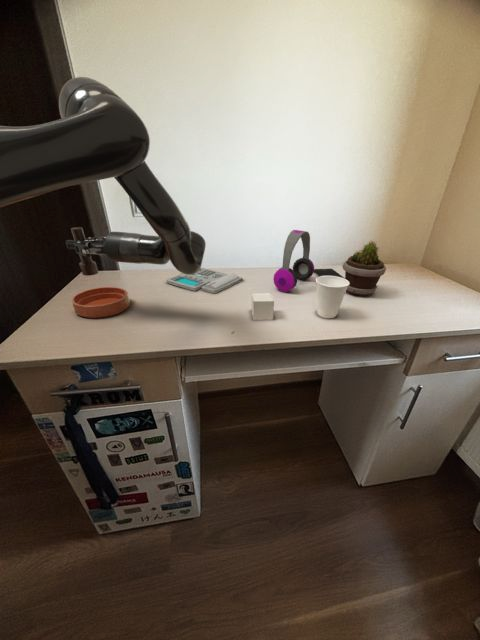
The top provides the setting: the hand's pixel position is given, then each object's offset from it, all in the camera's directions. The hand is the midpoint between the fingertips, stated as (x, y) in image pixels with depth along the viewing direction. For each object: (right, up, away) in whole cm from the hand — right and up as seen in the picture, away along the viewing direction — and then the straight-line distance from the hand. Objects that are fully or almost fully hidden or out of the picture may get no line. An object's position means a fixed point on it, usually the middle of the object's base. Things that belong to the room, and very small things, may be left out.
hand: (71, 243), depth 76 cm
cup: (+72, -18, +13) cm, 75 cm away
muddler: (+3, -7, +4) cm, 9 cm away
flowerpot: (+88, -7, +31) cm, 93 cm away
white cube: (+51, -18, +11) cm, 56 cm away
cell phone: (+80, +2, +43) cm, 91 cm away
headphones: (+64, -3, +35) cm, 73 cm away
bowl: (+2, -16, +12) cm, 20 cm away
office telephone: (+29, -2, +34) cm, 45 cm away
